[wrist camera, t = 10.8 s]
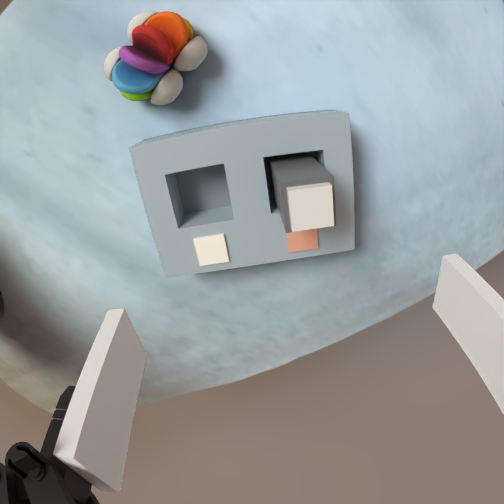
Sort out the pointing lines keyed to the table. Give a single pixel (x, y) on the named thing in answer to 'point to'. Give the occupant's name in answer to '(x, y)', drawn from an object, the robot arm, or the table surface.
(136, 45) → the rainbow petal fan toy
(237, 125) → the socket box
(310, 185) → the plug
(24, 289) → the table surface
